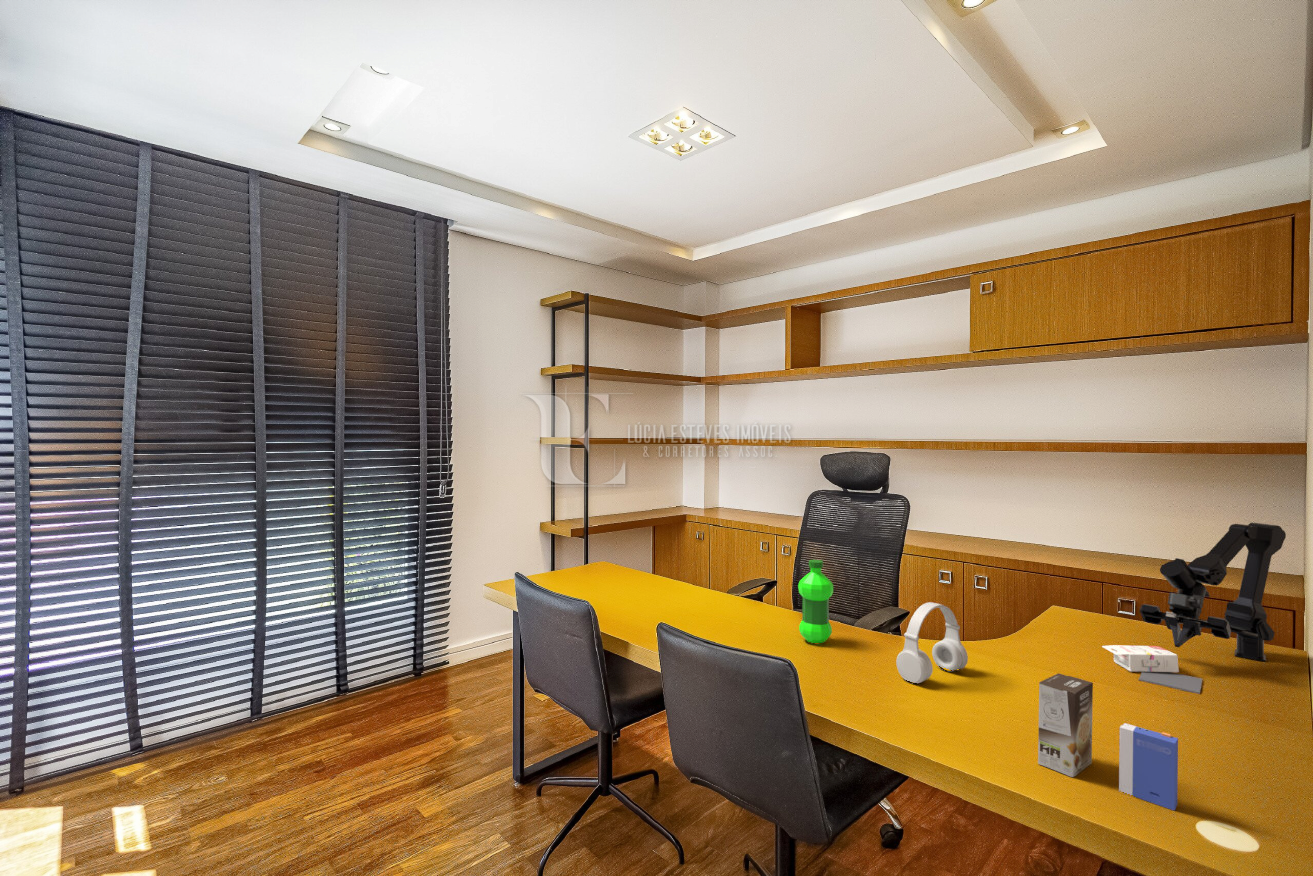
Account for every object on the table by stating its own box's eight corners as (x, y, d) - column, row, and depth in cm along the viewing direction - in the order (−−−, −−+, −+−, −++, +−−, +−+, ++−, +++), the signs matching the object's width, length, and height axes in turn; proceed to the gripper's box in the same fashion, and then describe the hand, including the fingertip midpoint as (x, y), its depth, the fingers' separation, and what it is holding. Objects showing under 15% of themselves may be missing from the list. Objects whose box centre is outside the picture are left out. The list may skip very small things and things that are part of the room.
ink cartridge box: (1160, 663, 172) (1101, 661, 175) (1158, 645, 172) (1100, 644, 175) (1179, 673, 164) (1117, 671, 166) (1178, 654, 164) (1116, 653, 167)
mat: (1144, 668, 170) (1144, 666, 170) (1202, 680, 161) (1202, 678, 161) (1138, 680, 161) (1138, 678, 161) (1199, 694, 153) (1199, 692, 153)
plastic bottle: (821, 649, 183) (821, 566, 182) (791, 640, 190) (792, 560, 190) (839, 642, 189) (839, 561, 189) (809, 633, 197) (810, 556, 197)
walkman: (1177, 804, 107) (1178, 736, 106) (1174, 811, 105) (1175, 741, 105) (1121, 785, 112) (1122, 720, 112) (1118, 791, 111) (1119, 725, 110)
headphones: (922, 689, 155) (923, 613, 155) (894, 678, 162) (895, 605, 162) (969, 673, 165) (969, 602, 165) (940, 663, 172) (941, 595, 172)
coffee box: (1074, 779, 114) (1075, 693, 114) (1037, 764, 119) (1037, 682, 119) (1092, 763, 120) (1093, 682, 120) (1056, 750, 125) (1057, 671, 125)
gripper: (1142, 575, 177) (1127, 620, 170) (1228, 589, 162) (1216, 638, 155) (1150, 598, 181) (1137, 643, 175) (1236, 614, 166) (1224, 663, 160)
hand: (1176, 646), depth 166 cm, fingers closed
